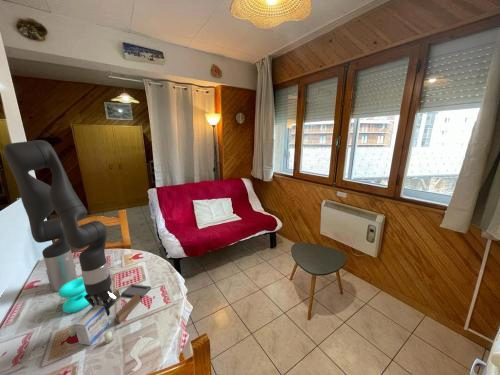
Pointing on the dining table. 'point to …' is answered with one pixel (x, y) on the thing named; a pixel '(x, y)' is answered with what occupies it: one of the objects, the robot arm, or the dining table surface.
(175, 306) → the dining table surface
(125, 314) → the channel
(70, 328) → the pair of cream knobs
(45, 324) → the dining table surface
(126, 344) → the dining table surface
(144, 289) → the pit tray
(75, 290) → the turquoise spool
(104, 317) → the medicine box
